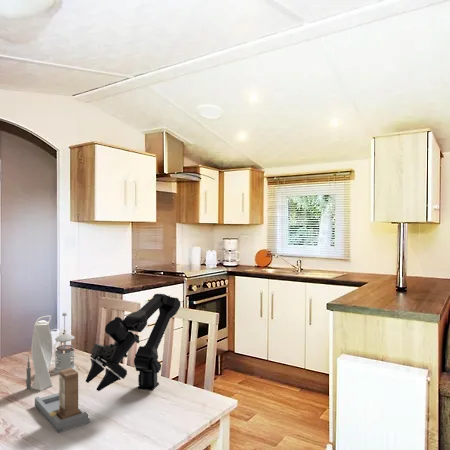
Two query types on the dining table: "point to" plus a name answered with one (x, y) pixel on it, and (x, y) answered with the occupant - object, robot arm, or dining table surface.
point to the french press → (64, 358)
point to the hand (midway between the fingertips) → (91, 386)
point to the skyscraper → (40, 356)
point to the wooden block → (68, 394)
